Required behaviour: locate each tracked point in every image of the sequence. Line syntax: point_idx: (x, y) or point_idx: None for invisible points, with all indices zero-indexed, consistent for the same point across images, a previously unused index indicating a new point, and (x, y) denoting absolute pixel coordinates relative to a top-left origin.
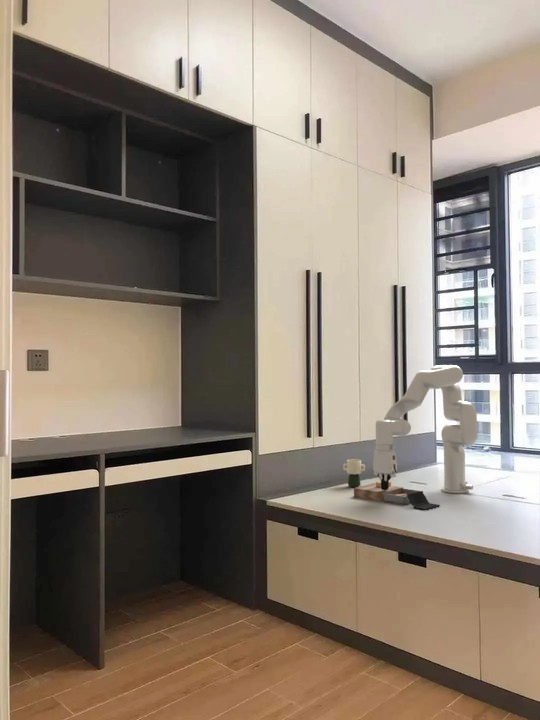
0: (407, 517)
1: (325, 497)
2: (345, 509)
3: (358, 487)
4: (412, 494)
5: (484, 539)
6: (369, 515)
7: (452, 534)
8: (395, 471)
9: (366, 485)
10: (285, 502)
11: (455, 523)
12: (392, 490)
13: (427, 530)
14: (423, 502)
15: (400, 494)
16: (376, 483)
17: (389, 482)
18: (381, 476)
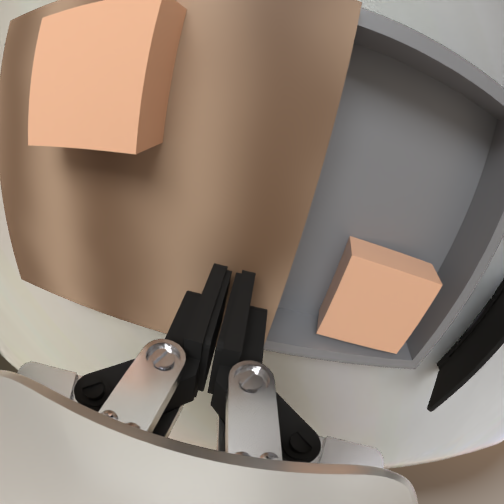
0: (399, 434)
1: (16, 301)
2: (191, 427)
3: (19, 250)
4: (462, 381)
5: (489, 437)
6: None
7: (458, 447)
8: (386, 493)
9: (4, 145)
10: None
11: (492, 411)
12: (299, 241)
13: (424, 455)
14: (497, 307)
15: (391, 303)
16: (43, 141)
17: (154, 32)
18: (166, 433)
